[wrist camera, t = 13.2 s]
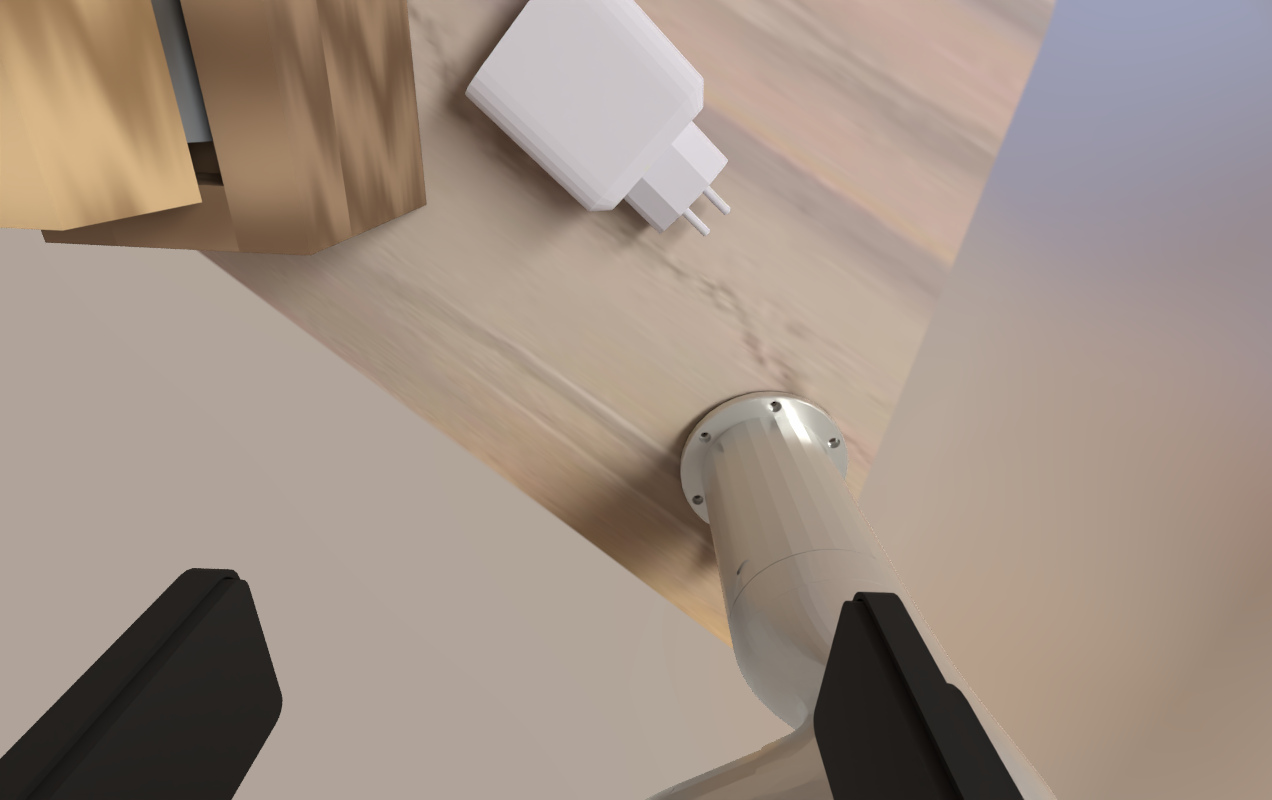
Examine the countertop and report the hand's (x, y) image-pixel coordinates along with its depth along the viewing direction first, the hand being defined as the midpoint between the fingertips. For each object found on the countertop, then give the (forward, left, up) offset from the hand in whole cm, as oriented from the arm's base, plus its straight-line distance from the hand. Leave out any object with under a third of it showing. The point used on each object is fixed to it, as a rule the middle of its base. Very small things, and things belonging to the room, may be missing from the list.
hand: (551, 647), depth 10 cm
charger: (+7, -1, -33) cm, 34 cm away
